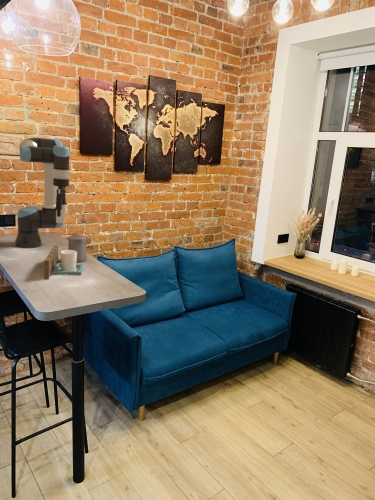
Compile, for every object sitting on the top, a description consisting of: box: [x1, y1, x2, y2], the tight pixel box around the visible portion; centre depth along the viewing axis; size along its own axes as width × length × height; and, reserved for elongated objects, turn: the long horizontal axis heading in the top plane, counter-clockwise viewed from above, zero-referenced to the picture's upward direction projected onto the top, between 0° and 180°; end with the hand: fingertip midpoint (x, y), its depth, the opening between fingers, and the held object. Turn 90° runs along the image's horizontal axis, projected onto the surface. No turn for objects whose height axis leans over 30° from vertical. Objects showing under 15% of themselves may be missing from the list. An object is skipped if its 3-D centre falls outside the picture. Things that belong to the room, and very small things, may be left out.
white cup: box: [60, 249, 77, 271], centre depth 190 cm, size 8×8×10 cm
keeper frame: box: [52, 262, 84, 276], centre depth 191 cm, size 13×13×2 cm
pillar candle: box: [67, 234, 87, 264], centre depth 207 cm, size 10×10×15 cm
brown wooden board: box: [43, 245, 59, 280], centre depth 188 cm, size 28×2×9 cm, turn 10°
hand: (60, 219), depth 190 cm, fingers open, 13 cm apart
